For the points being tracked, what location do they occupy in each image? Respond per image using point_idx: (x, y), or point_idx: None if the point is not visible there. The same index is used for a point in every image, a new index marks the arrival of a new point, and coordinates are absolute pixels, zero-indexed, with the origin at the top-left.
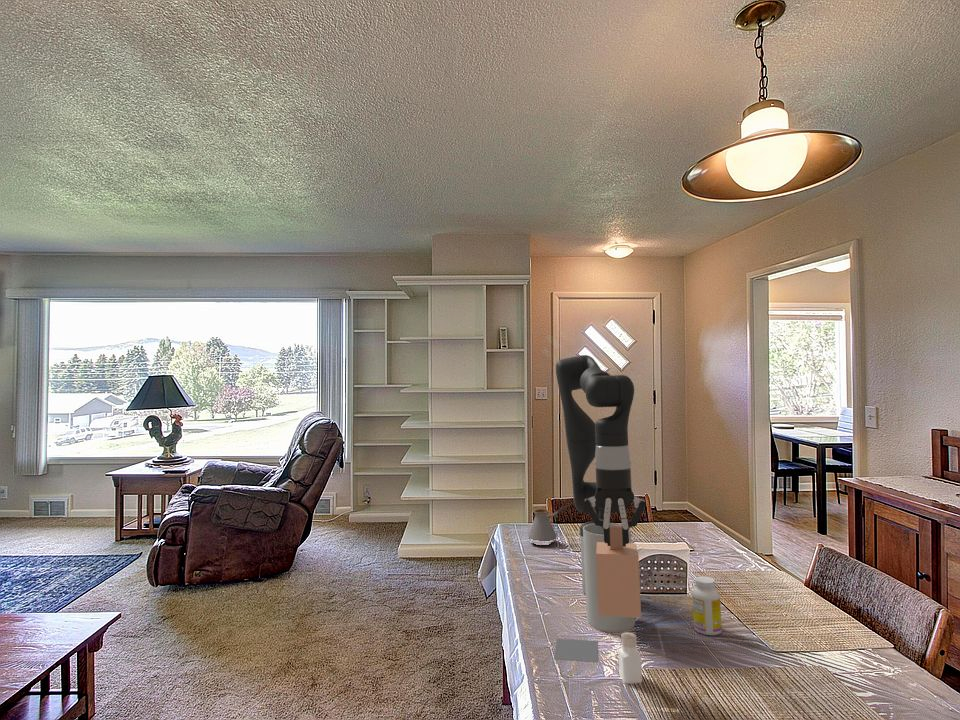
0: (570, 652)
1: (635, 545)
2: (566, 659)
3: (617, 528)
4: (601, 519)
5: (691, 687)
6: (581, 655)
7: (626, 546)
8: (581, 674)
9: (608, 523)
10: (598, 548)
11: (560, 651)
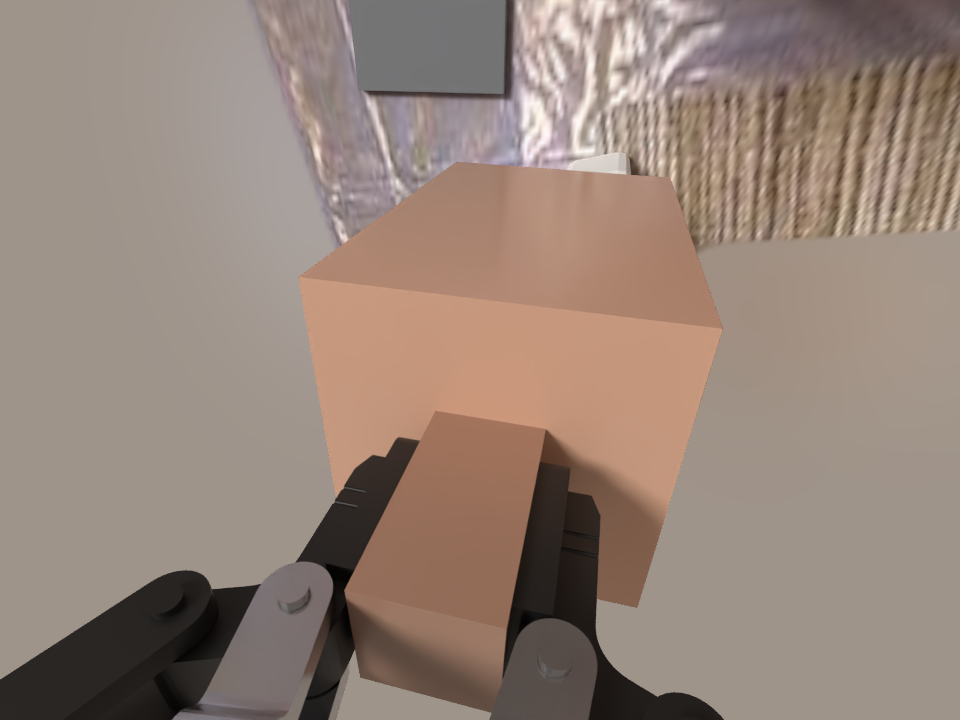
0: (405, 29)
1: (691, 399)
2: (397, 87)
3: (449, 689)
4: (210, 661)
5: (793, 207)
6: (445, 48)
7: (586, 421)
8: (452, 161)
9: (328, 717)
10: (342, 450)
11: (369, 25)
